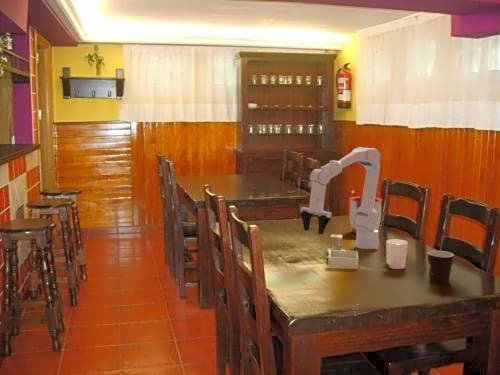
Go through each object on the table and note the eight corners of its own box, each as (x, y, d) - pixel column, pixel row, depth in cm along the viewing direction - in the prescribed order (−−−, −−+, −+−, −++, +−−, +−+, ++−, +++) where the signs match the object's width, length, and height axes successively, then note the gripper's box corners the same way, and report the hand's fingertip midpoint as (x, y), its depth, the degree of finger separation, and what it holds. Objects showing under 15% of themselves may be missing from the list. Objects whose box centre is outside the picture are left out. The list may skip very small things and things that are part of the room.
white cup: (406, 265, 208) (408, 240, 206) (405, 270, 200) (407, 244, 199) (386, 263, 210) (387, 238, 209) (384, 268, 203) (385, 243, 202)
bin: (357, 260, 213) (357, 251, 213) (358, 268, 202) (358, 258, 202) (329, 259, 215) (329, 249, 215) (328, 267, 204) (328, 257, 204)
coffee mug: (449, 286, 182) (450, 258, 181) (423, 282, 187) (424, 254, 185) (456, 277, 192) (457, 250, 191) (431, 273, 197) (433, 247, 195)
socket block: (341, 249, 226) (342, 234, 225) (341, 252, 221) (342, 237, 220) (330, 249, 226) (331, 234, 226) (330, 251, 222) (330, 236, 221)
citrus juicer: (344, 235, 257) (345, 194, 254) (352, 228, 273) (353, 189, 270) (377, 238, 251) (379, 196, 248) (383, 230, 267) (384, 191, 264)
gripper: (297, 196, 217) (293, 229, 218) (325, 201, 207) (321, 236, 208) (308, 196, 222) (304, 228, 223) (336, 201, 212) (332, 235, 213)
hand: (313, 232), depth 216 cm, fingers open, 7 cm apart
